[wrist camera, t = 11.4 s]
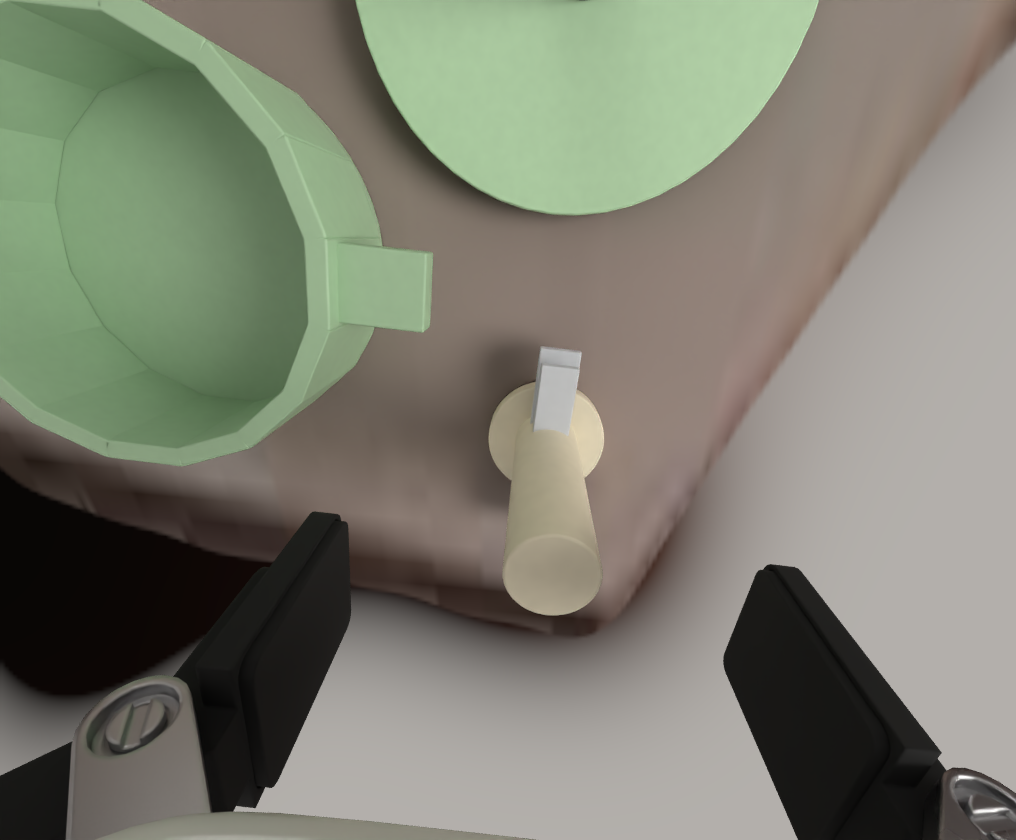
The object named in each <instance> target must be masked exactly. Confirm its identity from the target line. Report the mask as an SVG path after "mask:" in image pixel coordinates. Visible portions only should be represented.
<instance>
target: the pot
mask: <svg viewBox="0 0 1016 840" xmlns="http://www.w3.org/2000/svg"><path fill="white" fill-rule="evenodd" d="M432 268H433V253H432V252H427V251H419V250H410V249H401V248H393V247H384V246H383V245H382V240H381V234H380V228H379V224H378V220H377V217H376V214H375V210H374V207H373V204H372V201H371V198H370V196H369V194H368V191H367V189H366V187H365V184H364V182H363V179H362V177H361V175H360V174H359V172H358V170H357V168H356V167H355V165H354V163H353V161H352V159H351V158H350V156H349V154H348V153H347V151H346V150H345V149H344V147H343V146H342V144H341V143H340V142H339V140H338V139H337V137H336V136H335V135H334V133H333V132H332V131H331V130H330V129H329V127H328V126H327V125H326V124H325V123H324V122H323V121H322V120H321V119H320V118H319V116H318V115H317V114H316V113H315V112H314V111H313V110H312V109H311V108H310V107H308V105H307V104H306V103H305V102H304V100H303V99H302V98H301V97H300V96H299V95H298V94H297V93H296V92H294V91H292V90H291V89H289V88H287V87H286V86H284V85H282V84H281V83H279V82H277V81H276V80H274V79H272V78H271V77H269V76H267V75H266V74H264V73H262V72H261V71H259V70H257V69H256V68H254V67H252V66H251V65H249V64H247V63H246V62H244V61H243V60H241V59H239V58H238V57H236V56H234V55H233V54H231V53H229V52H228V51H226V50H224V49H223V48H221V47H219V46H218V45H216V44H214V43H213V42H211V41H209V40H208V39H206V38H204V37H203V36H201V35H199V34H198V33H196V32H194V31H193V30H191V29H189V28H187V27H186V26H184V25H182V24H181V23H179V22H177V21H176V20H174V19H172V18H171V17H169V16H167V15H166V14H164V13H162V12H161V11H159V10H157V9H155V8H154V7H152V6H150V5H149V4H147V3H145V2H144V1H142V0H0V397H1V398H2V399H4V400H5V401H6V402H7V403H8V404H10V405H11V406H12V407H13V408H14V409H16V410H17V411H18V412H19V413H20V414H22V415H23V416H24V417H25V418H26V419H28V420H29V421H31V423H33V424H36V425H38V426H40V427H42V428H44V429H46V430H49V431H51V432H53V433H55V434H57V435H59V436H62V437H64V438H66V439H68V440H70V441H73V442H75V443H77V444H79V445H81V446H83V447H86V448H88V449H90V450H92V451H94V452H96V453H99V454H101V455H103V456H105V457H110V458H118V459H126V460H134V461H142V462H150V463H158V464H167V465H175V466H187V465H191V464H194V463H198V462H202V461H206V460H209V459H213V458H217V457H220V456H224V455H228V454H232V453H235V452H239V451H243V450H247V449H249V448H251V447H253V446H255V445H256V444H257V443H259V442H260V441H261V440H263V439H264V438H265V437H267V436H268V435H269V434H271V433H272V432H273V431H275V430H276V429H278V428H279V427H280V426H282V425H283V424H284V423H286V422H287V421H288V420H290V419H291V418H292V417H294V416H295V415H296V414H298V413H299V412H301V411H302V410H303V409H305V408H306V407H307V406H309V405H310V404H311V403H313V402H314V401H315V400H317V399H318V398H319V397H320V396H321V395H322V394H323V393H325V392H326V391H327V390H328V389H329V388H330V387H331V386H333V385H334V384H335V383H336V382H338V381H339V380H340V379H341V378H342V377H343V376H344V375H345V374H346V373H348V372H349V371H350V370H351V369H352V368H353V367H354V366H355V365H356V364H357V362H358V360H359V357H360V356H361V354H362V353H363V351H364V350H365V348H366V346H367V344H368V342H369V340H370V338H371V336H372V334H373V331H374V328H375V327H378V328H386V329H395V330H403V331H412V332H420V333H422V332H424V331H425V330H427V329H428V328H429V327H430V312H431V290H432Z"/></svg>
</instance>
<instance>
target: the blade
mask: <svg viewBox="0 0 1016 840" xmlns="http://www.w3.org/2000/svg"><path fill="white" fill-rule="evenodd" d="M581 355H582V353H581V351H578V350H570V349H561V348H553V347H545V346H541V347H540V353H539V360H538V368H537V375H536V382H533V383H529V384H526V385H523V386H521V387H519V388H517V389H515V390H514V391H512V392H511V393H510V394H508V395H507V396H506V397H505V398H504V399H503V400H502V401H501V402H500V404H499V405H498V407H497V408H496V410H495V412H494V414H493V417H492V420H491V424H490V429H489V438H488V441H489V449H490V452H491V455H492V458H493V460H494V462H495V464H496V465H497V467H498V468H499V469H500V471H501V472H502V473H503V474H504V475H505V476H506V477H507V478H509V479H510V480H511V481H512V482H511V492H510V502H509V512H508V522H507V532H506V542H505V552H504V562H503V574H502V575H503V581H504V585H505V587H506V589H507V591H508V593H509V594H510V596H511V597H512V598H513V599H514V600H515V601H516V602H517V603H518V604H519V605H521V606H522V607H524V608H526V609H528V610H530V611H532V612H535V613H539V614H544V615H563V614H568V613H571V612H574V611H577V610H579V609H581V608H582V607H584V606H585V605H587V604H588V603H589V602H590V601H591V600H592V599H593V598H594V597H595V595H596V594H597V592H598V590H599V588H600V586H601V583H602V577H603V573H602V566H601V561H600V556H599V551H598V546H597V541H596V536H595V531H594V526H593V521H592V516H591V511H590V506H589V501H588V495H587V490H586V485H585V480H584V478H585V477H586V476H587V475H588V474H589V473H590V472H591V471H592V470H593V468H594V467H595V466H596V464H597V462H598V461H599V458H600V456H601V454H602V450H603V445H604V431H603V426H602V423H601V420H600V417H599V414H598V412H597V410H596V408H595V407H594V405H593V404H592V402H591V401H590V400H589V399H588V398H587V397H586V396H585V395H584V394H583V393H582V392H580V391H579V390H577V383H578V377H579V371H580V370H579V367H580V361H581Z"/></svg>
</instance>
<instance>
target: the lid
mask: <svg viewBox="0 0 1016 840" xmlns="http://www.w3.org/2000/svg"><path fill="white" fill-rule="evenodd" d="M355 1H356V6H357V10H358V14H359V17H360V21H361V25H362V28H363V32H364V36H365V39H366V43H367V45H368V48H369V50H370V53H371V55H372V58H373V61H374V63H375V66H376V68H377V71H378V74H379V76H380V78H381V79H382V81H383V83H384V85H385V87H386V89H387V91H388V93H389V95H390V97H391V99H392V101H393V103H394V104H395V106H396V107H397V109H398V110H399V112H400V113H401V115H402V116H403V118H404V119H405V121H406V122H407V124H408V125H409V127H410V128H411V130H412V131H413V132H414V133H415V134H416V136H417V137H418V138H419V139H420V140H421V141H422V143H423V144H424V145H425V146H426V147H427V148H428V150H429V151H430V152H431V153H432V154H433V155H434V156H435V157H436V158H438V159H439V160H440V161H441V162H442V163H443V164H444V165H445V166H446V167H448V168H449V169H450V170H451V171H452V172H453V173H454V174H456V175H457V176H459V177H460V178H461V179H463V180H464V181H466V182H467V183H469V184H470V185H472V186H473V187H474V188H476V189H477V190H479V191H481V192H483V193H485V194H487V195H489V196H491V197H493V198H495V199H497V200H499V201H501V202H504V203H507V204H510V205H513V206H516V207H519V208H522V209H525V210H529V211H534V212H540V213H545V214H550V215H571V216H579V215H589V214H600V213H606V212H610V211H614V210H618V209H622V208H626V207H630V206H633V205H636V204H638V203H641V202H643V201H646V200H649V199H651V198H654V197H656V196H659V195H661V194H662V193H664V192H666V191H668V190H670V189H672V188H673V187H675V186H677V185H679V184H681V183H683V182H685V181H686V180H687V179H689V178H690V177H692V176H693V175H694V174H696V173H697V172H699V171H700V170H701V169H703V168H704V167H706V166H707V165H708V164H710V163H711V162H712V161H713V160H714V159H715V158H717V157H718V156H719V155H720V154H721V153H722V152H723V151H724V150H725V149H727V148H728V147H729V146H730V145H731V144H732V143H733V142H734V141H735V140H736V139H737V138H738V137H739V136H740V135H741V133H742V132H743V131H744V130H745V129H746V128H747V127H748V126H749V124H750V123H751V122H752V121H753V120H754V119H755V118H756V117H757V115H758V114H759V113H760V111H761V110H762V108H763V107H764V106H765V104H766V103H767V101H768V100H769V99H770V97H771V96H772V94H773V93H774V92H775V90H776V89H777V87H778V86H779V84H780V82H781V81H782V79H783V77H784V76H785V74H786V72H787V70H788V69H789V67H790V65H791V63H792V62H793V60H794V58H795V56H796V55H797V53H798V50H799V48H800V46H801V44H802V41H803V39H804V37H805V35H806V33H807V30H808V28H809V26H810V24H811V21H812V19H813V17H814V14H815V11H816V8H817V5H818V2H819V0H355Z"/></svg>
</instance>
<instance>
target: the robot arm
mask: <svg viewBox="0 0 1016 840" xmlns="http://www.w3.org/2000/svg"><path fill="white" fill-rule="evenodd" d="M350 616H351V595H350V566H349V537H348V524H347V522H344V521H341V518H340V515H338V514H331V513H323V512H312V513H311V514H310V515H309V516H308V517H307V519H306V520H305V521H304V523H303V524H302V525H301V527H300V528H299V529H298V531H297V532H296V533H295V534H294V536H293V537H292V538H291V540H290V541H289V542H288V544H287V545H286V546H285V548H284V549H283V550H282V552H281V553H280V554H279V556H278V557H277V558H276V559H275V561H274V562H273V563H272V565H271V566H270V567H269V568H268V567H263V568H261V569H259V570H258V571H257V572H256V573H255V574H254V575H253V576H252V577H251V579H250V580H249V581H248V583H247V584H246V585H245V586H244V588H243V589H242V590H241V592H240V593H239V594H238V595H237V597H236V598H235V599H234V600H233V602H232V603H231V604H230V605H229V607H228V608H227V609H226V611H225V612H224V613H223V614H222V616H221V617H220V618H219V619H218V621H217V622H216V623H215V624H214V626H213V627H212V628H211V629H210V631H209V632H208V633H207V635H206V636H205V637H204V638H203V640H202V641H201V642H200V643H199V645H198V646H197V647H196V648H195V650H194V651H193V652H192V653H191V655H190V656H189V657H188V659H187V660H186V661H185V662H184V664H183V665H182V666H181V667H180V669H179V670H178V671H177V673H176V674H175V675H174V676H173V677H172V676H167V675H162V676H150V677H147V678H143V679H140V680H136V681H133V682H131V683H129V684H127V685H125V686H123V687H121V688H119V689H117V690H115V691H113V692H112V693H111V694H109V695H108V696H106V697H105V698H104V699H102V700H101V701H99V702H98V703H97V704H96V705H95V706H94V707H93V708H92V709H91V710H90V711H89V712H88V713H87V714H86V715H85V717H84V718H83V720H82V721H81V723H80V724H79V726H78V727H77V729H76V731H75V735H74V738H73V741H72V742H70V743H68V744H66V745H64V746H62V747H60V748H58V749H56V750H53V751H51V752H49V753H47V754H45V755H43V756H41V757H39V758H36V759H35V760H32V761H30V762H28V763H26V764H24V765H22V766H20V767H18V768H16V769H13V770H12V771H10V772H7V773H5V774H3V775H1V776H0V840H534V839H525V838H516V837H508V836H499V835H490V834H480V833H471V832H462V831H453V830H444V829H435V828H426V827H417V826H408V825H399V824H390V823H381V822H372V821H361V820H349V819H339V818H327V817H315V816H305V815H294V814H283V813H258V812H233V811H234V809H235V807H236V806H242V807H250V808H256V806H257V804H258V802H259V800H260V797H261V795H262V793H263V791H264V789H265V787H269V788H272V787H274V786H275V784H276V783H277V781H278V779H279V777H280V775H281V773H282V770H283V768H284V766H285V764H286V762H287V760H288V757H289V755H290V753H291V751H292V748H293V746H294V744H295V742H296V740H297V737H298V735H299V733H300V731H301V729H302V727H303V724H304V722H305V720H306V718H307V716H308V713H309V711H310V709H311V707H312V705H313V702H314V700H315V698H316V696H317V693H318V691H319V689H320V687H321V685H322V683H323V680H324V678H325V676H326V674H327V672H328V669H329V667H330V665H331V663H332V661H333V658H334V656H335V654H336V652H337V650H338V647H339V645H340V643H341V641H342V639H343V636H344V634H345V632H346V630H347V627H348V624H349V621H350ZM723 662H724V669H725V672H726V675H727V677H728V679H729V681H730V684H731V686H732V688H733V690H734V693H735V695H736V698H737V700H738V702H739V704H740V707H741V709H742V712H743V714H744V716H745V718H746V721H747V723H748V725H749V728H750V729H751V732H752V735H753V737H754V739H755V742H756V744H757V746H758V749H759V751H760V753H761V755H762V758H763V760H764V762H765V765H766V767H767V769H768V772H769V774H770V776H771V778H772V781H773V783H774V786H775V788H776V790H777V792H778V795H779V797H780V799H781V802H782V804H783V806H784V808H785V811H786V813H787V816H788V818H789V820H790V822H791V825H792V827H793V829H794V832H795V834H796V836H797V838H798V840H1016V793H1014V792H1013V791H1012V790H1010V789H1009V788H1007V787H1006V786H1004V785H1003V784H1001V783H1000V782H998V781H996V780H994V779H992V778H990V777H988V776H986V775H984V774H982V773H980V772H976V771H973V770H970V769H967V768H951V769H949V770H947V771H946V769H945V768H944V767H943V765H942V764H941V763H940V761H939V760H938V759H937V758H938V757H939V756H940V754H941V751H940V750H939V749H938V747H937V746H936V745H935V743H934V742H933V741H932V740H931V738H930V737H929V736H928V734H927V733H926V732H925V731H924V729H923V728H922V727H921V726H920V724H919V723H918V722H917V720H916V719H915V718H914V717H913V715H912V714H911V713H910V711H909V710H908V709H907V707H906V706H905V705H904V704H903V702H902V701H901V700H900V698H899V697H898V696H897V695H896V693H895V692H894V691H893V689H892V688H891V687H890V685H889V684H888V683H887V682H886V681H885V679H884V678H883V677H882V675H881V674H880V673H879V671H878V670H877V669H876V667H875V666H874V665H873V664H872V662H871V661H870V660H869V658H868V657H867V656H866V655H865V653H864V652H863V651H862V649H861V648H860V647H859V645H858V644H857V643H856V642H855V640H854V639H853V638H852V636H851V635H850V634H849V633H848V631H847V630H846V629H845V627H844V626H843V625H842V624H841V622H840V621H839V620H838V618H837V617H836V616H835V615H834V613H833V612H832V611H831V610H830V608H829V607H828V605H827V604H826V603H825V602H824V600H823V599H822V598H821V596H820V595H819V594H818V593H817V591H816V590H815V589H814V587H813V586H812V585H811V584H810V582H809V581H808V580H807V578H806V577H805V576H804V575H803V573H802V572H801V571H800V570H799V569H798V568H795V567H788V566H780V565H772V564H770V565H767V566H766V567H765V568H764V569H763V570H759V571H758V572H757V573H756V575H755V578H754V581H753V583H752V585H751V588H750V591H749V593H748V595H747V598H746V601H745V603H744V606H743V608H742V610H741V613H740V615H739V618H738V621H737V623H736V626H735V628H734V631H733V633H732V636H731V638H730V641H729V643H728V646H727V648H726V651H725V653H724V660H723Z"/></svg>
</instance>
